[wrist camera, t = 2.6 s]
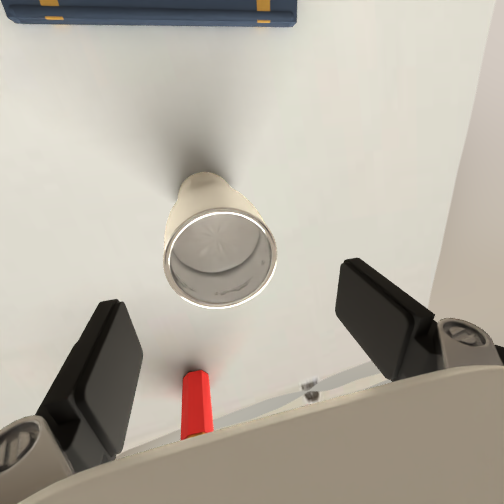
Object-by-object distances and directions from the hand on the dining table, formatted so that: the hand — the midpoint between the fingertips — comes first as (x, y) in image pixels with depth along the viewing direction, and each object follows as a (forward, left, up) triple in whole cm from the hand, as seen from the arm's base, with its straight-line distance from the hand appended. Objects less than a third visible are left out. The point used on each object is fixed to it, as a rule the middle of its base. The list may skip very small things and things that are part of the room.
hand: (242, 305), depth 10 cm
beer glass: (0, 0, -19) cm, 19 cm away
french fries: (-6, -30, -19) cm, 36 cm away
